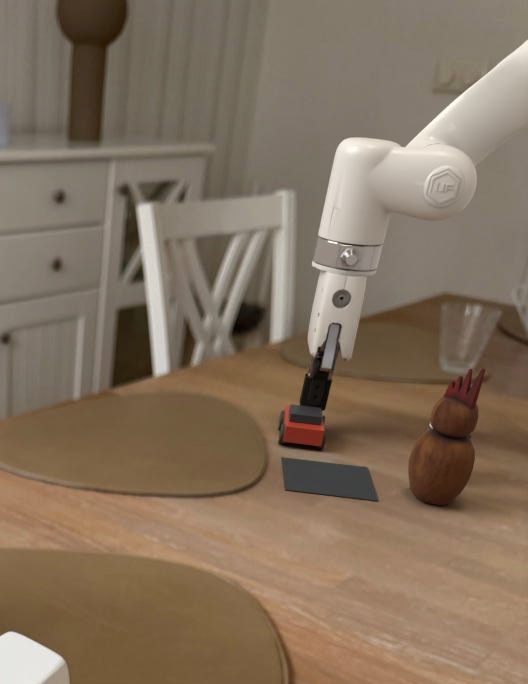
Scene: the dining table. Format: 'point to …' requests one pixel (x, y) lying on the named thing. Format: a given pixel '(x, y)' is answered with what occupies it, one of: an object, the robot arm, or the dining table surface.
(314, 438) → the toy car
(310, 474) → the mat
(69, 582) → the dining table surface
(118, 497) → the dining table surface
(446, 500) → the wooden figurine
